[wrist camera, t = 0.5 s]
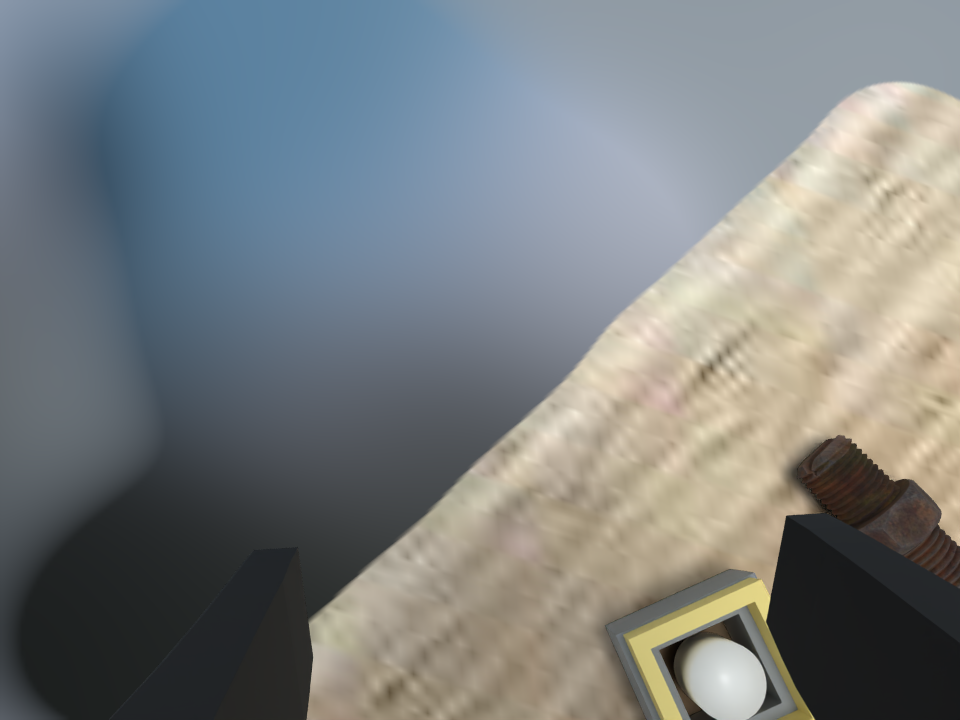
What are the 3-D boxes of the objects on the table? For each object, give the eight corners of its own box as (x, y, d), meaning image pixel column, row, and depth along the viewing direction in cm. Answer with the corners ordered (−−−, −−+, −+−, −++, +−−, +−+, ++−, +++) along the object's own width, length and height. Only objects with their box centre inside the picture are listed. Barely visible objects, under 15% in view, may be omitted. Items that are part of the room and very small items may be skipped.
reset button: (755, 688, 32) (780, 703, 29) (693, 717, 32) (712, 735, 29) (722, 621, 33) (743, 629, 30) (662, 648, 33) (677, 660, 30)
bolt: (798, 453, 38) (1022, 681, 35) (756, 501, 35) (997, 756, 32) (879, 400, 34) (1147, 656, 30) (839, 450, 31) (1131, 741, 27)
